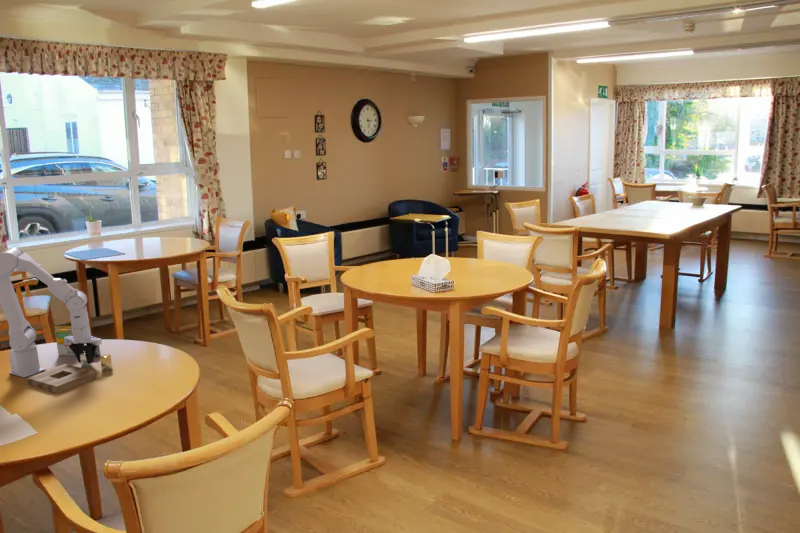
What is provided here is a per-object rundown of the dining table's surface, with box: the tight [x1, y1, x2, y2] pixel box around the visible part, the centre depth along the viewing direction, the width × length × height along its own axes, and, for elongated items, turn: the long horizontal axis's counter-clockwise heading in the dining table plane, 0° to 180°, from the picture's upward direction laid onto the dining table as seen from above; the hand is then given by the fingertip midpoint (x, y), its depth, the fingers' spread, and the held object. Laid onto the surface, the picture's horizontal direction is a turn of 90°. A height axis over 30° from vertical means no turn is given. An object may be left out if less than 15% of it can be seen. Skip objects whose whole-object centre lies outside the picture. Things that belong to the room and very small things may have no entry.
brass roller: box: [99, 354, 114, 373], centre depth 244 cm, size 4×4×5 cm
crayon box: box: [54, 325, 75, 357], centre depth 260 cm, size 7×3×12 cm, turn 85°
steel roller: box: [79, 352, 93, 369], centre depth 248 cm, size 4×4×5 cm
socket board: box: [26, 363, 96, 394], centre depth 235 cm, size 16×14×2 cm
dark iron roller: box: [94, 345, 102, 359], centre depth 258 cm, size 4×4×5 cm
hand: (86, 362), depth 248 cm, fingers closed on steel roller, 3 cm apart
